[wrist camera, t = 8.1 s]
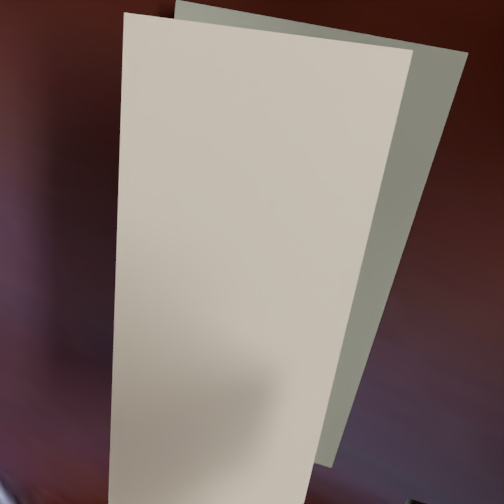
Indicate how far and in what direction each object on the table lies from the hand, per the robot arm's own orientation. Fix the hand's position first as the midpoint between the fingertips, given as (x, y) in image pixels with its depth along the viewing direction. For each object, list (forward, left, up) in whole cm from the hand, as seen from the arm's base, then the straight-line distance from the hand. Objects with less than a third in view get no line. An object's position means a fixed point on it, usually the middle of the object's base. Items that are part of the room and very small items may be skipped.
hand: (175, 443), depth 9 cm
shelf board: (0, 0, -6) cm, 6 cm away
